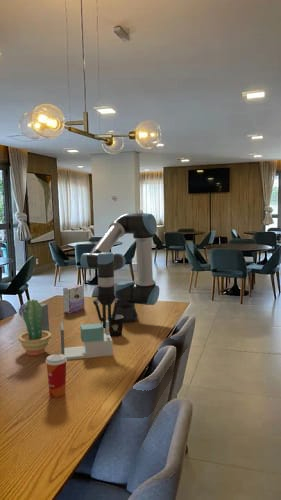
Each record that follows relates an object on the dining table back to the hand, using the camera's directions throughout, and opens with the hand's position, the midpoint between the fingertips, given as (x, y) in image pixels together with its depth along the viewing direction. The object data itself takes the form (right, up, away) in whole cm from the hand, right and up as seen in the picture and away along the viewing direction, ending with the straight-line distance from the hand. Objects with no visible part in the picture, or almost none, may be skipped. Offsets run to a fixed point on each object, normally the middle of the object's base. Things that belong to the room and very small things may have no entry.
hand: (107, 334), depth 181 cm
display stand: (-10, -9, -1) cm, 13 cm away
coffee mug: (+1, -6, +24) cm, 25 cm away
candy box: (-28, -1, +72) cm, 77 cm away
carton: (-7, -2, -1) cm, 7 cm away
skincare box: (-39, -6, +27) cm, 48 cm away
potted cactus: (-34, -9, +1) cm, 35 cm away
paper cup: (-15, -13, -40) cm, 45 cm away
